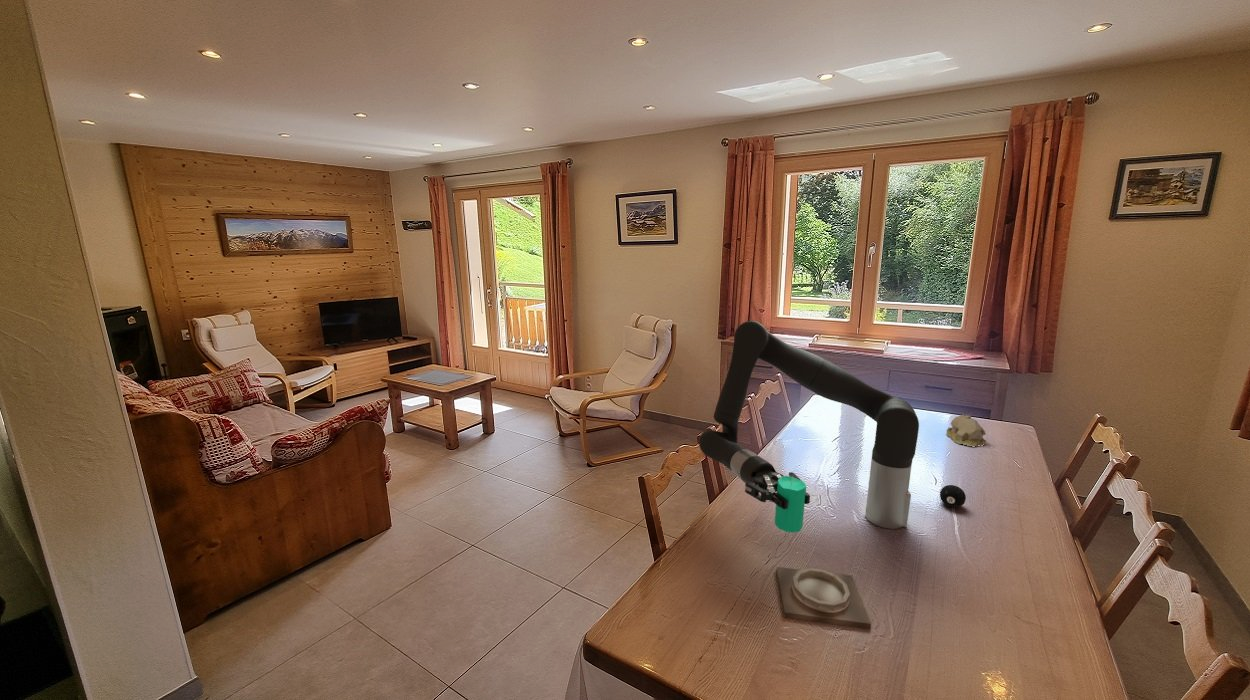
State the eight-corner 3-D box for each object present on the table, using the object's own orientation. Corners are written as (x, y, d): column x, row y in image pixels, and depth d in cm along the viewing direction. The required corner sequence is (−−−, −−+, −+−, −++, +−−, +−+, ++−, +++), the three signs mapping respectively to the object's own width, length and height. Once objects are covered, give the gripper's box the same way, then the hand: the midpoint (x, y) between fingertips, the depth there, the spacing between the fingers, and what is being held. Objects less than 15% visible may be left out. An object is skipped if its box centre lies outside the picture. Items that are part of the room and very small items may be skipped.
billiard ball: (936, 506, 135) (939, 486, 134) (941, 498, 139) (943, 479, 138) (962, 513, 131) (965, 494, 130) (965, 505, 135) (968, 486, 134)
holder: (851, 580, 106) (852, 568, 105) (870, 628, 92) (872, 615, 92) (776, 571, 109) (777, 559, 108) (784, 617, 95) (785, 604, 95)
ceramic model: (993, 447, 174) (998, 421, 172) (964, 448, 173) (968, 422, 171) (964, 432, 188) (968, 408, 186) (937, 433, 187) (940, 409, 185)
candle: (770, 517, 111) (774, 470, 108) (795, 516, 111) (799, 469, 109) (780, 533, 105) (784, 483, 102) (806, 532, 106) (811, 482, 103)
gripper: (727, 460, 116) (771, 493, 101) (776, 450, 121) (825, 481, 106) (726, 488, 118) (769, 524, 103) (774, 477, 123) (822, 511, 107)
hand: (797, 502), depth 104 cm, fingers closed on candle, 5 cm apart
